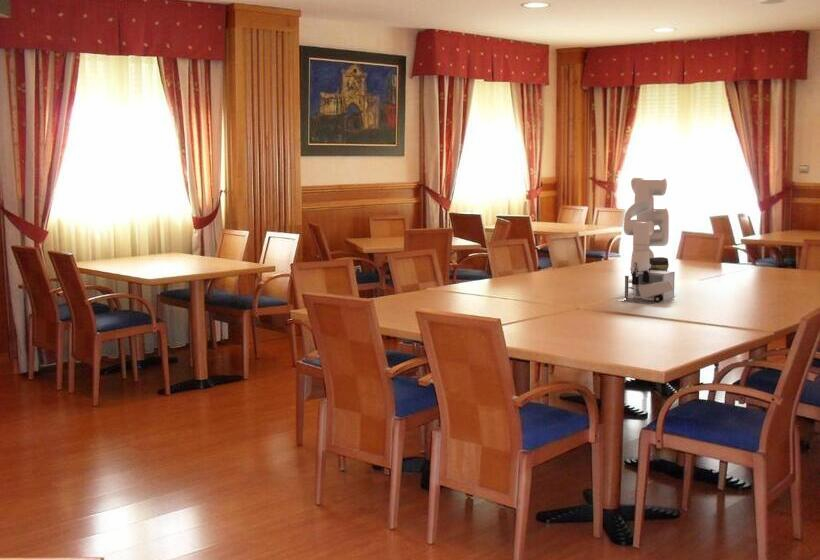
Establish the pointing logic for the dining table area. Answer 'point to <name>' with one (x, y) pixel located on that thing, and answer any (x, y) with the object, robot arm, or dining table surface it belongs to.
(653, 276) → the cabinet
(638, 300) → the grey l-shaped piece
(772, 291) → the dining table surface
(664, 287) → the grey plank with wheel
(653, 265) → the coffee jar
